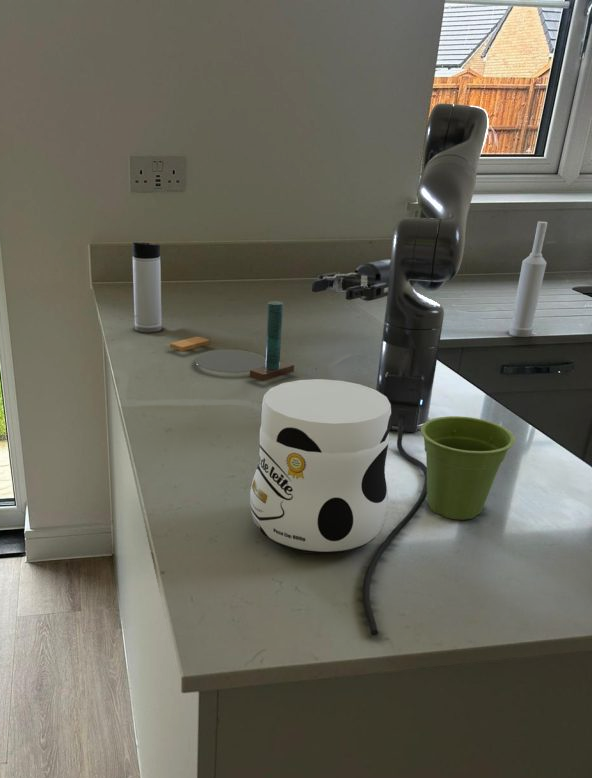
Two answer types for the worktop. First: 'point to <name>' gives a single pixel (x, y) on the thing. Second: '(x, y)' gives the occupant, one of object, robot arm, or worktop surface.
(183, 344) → the block
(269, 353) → the peg on stand
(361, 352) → the worktop surface
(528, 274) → the bottle
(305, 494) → the milk container
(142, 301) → the travel mug
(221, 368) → the turntable plate
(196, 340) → the crust
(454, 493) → the plant pot
